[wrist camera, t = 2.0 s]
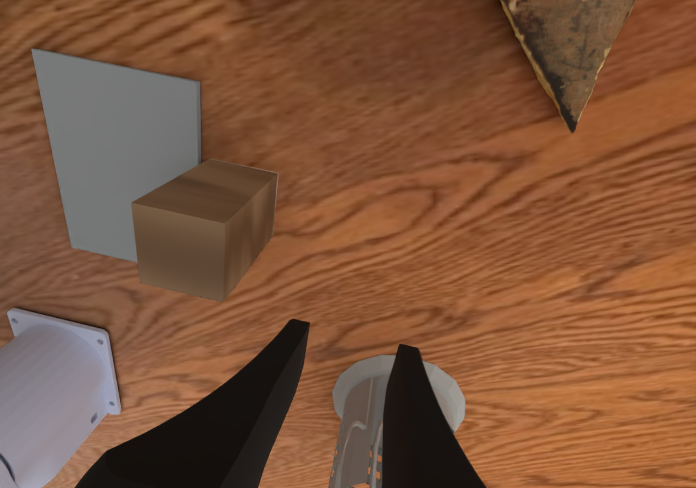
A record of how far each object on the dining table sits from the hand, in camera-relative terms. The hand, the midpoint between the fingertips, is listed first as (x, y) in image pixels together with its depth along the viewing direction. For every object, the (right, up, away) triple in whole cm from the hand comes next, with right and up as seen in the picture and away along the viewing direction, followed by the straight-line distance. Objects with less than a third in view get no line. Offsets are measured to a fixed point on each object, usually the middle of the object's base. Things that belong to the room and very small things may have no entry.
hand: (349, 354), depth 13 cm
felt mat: (-13, +8, +10) cm, 18 cm away
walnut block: (-6, +6, +10) cm, 13 cm away
